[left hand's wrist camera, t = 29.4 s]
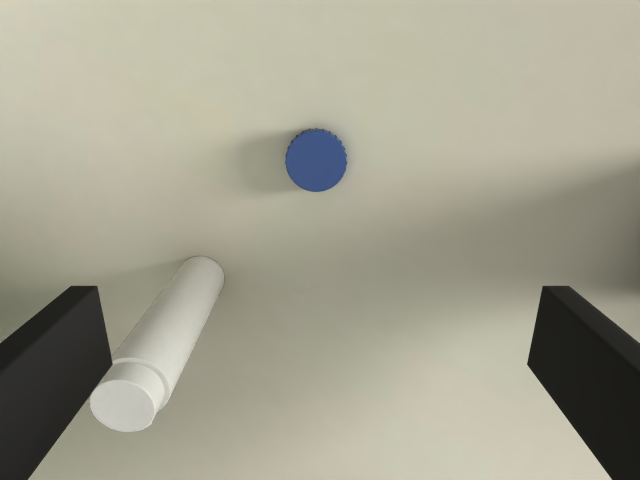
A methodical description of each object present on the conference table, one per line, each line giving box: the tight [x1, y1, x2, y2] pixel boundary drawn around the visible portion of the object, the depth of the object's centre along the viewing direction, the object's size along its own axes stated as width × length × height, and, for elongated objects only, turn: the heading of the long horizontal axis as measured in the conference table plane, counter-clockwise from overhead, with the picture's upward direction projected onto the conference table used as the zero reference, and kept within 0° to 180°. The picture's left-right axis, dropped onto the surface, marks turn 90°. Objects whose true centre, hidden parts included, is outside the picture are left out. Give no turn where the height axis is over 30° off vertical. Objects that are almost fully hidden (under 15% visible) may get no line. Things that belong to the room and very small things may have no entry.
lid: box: [285, 128, 347, 192], centre depth 40 cm, size 6×6×2 cm
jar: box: [90, 256, 225, 432], centre depth 36 cm, size 5×5×19 cm
